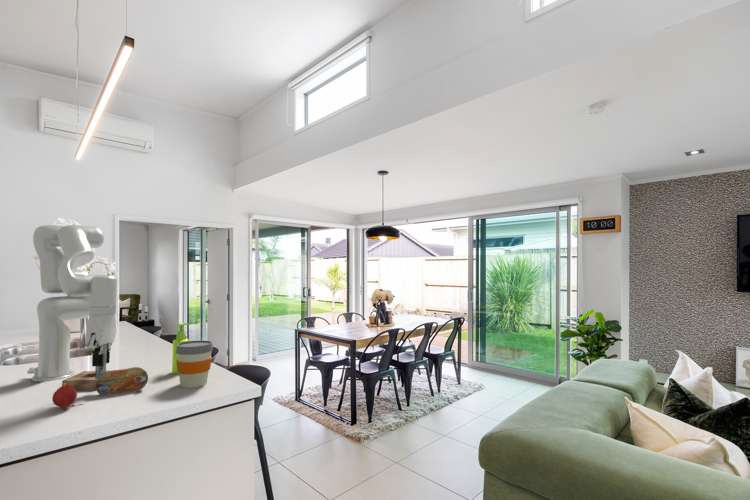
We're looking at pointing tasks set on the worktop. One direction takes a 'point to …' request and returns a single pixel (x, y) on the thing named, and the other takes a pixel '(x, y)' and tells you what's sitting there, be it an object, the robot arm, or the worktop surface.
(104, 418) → the worktop surface
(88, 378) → the rod stand
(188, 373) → the reusable coffee cup
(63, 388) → the onion
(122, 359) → the worktop surface
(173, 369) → the soap dispenser
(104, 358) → the metal rod
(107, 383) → the tin
